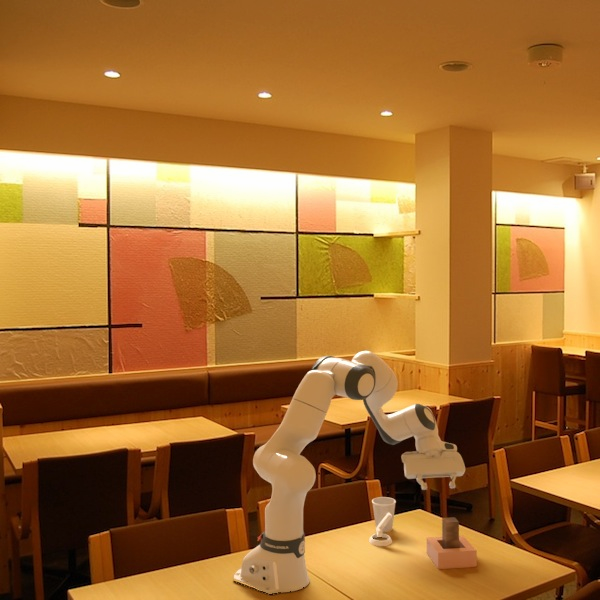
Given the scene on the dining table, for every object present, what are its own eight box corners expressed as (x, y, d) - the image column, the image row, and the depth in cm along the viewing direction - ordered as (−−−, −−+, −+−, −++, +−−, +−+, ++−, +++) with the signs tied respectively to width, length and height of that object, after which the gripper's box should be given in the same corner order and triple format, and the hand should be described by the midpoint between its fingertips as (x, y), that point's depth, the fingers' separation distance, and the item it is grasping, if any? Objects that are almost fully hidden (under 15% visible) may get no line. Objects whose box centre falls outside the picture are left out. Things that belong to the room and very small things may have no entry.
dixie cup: (372, 524, 249) (371, 496, 248) (395, 524, 248) (395, 496, 248) (372, 533, 241) (371, 504, 240) (396, 533, 240) (396, 505, 239)
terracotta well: (438, 569, 211) (437, 552, 211) (426, 553, 223) (426, 537, 223) (476, 566, 213) (476, 550, 212) (463, 550, 225) (463, 535, 224)
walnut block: (446, 560, 216) (446, 522, 215) (442, 555, 220) (442, 517, 219) (459, 560, 216) (458, 521, 216) (454, 554, 220) (454, 517, 220)
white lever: (408, 530, 229) (391, 520, 227) (386, 558, 231) (369, 548, 229) (402, 517, 236) (386, 508, 234) (381, 544, 238) (365, 535, 236)
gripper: (401, 447, 235) (409, 485, 226) (460, 444, 237) (471, 482, 228) (398, 457, 240) (406, 494, 231) (456, 454, 242) (466, 491, 233)
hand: (438, 488), depth 229 cm, fingers open, 8 cm apart
